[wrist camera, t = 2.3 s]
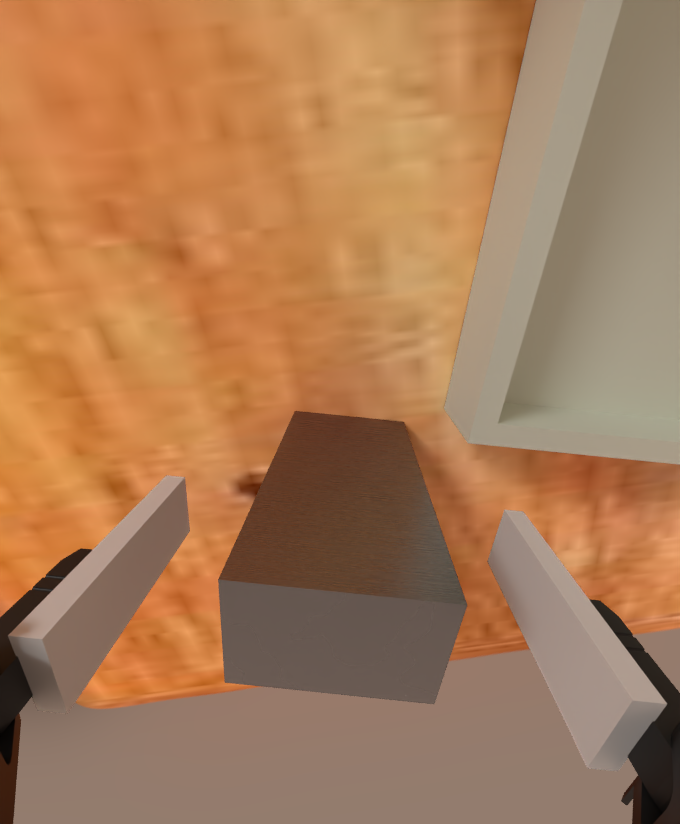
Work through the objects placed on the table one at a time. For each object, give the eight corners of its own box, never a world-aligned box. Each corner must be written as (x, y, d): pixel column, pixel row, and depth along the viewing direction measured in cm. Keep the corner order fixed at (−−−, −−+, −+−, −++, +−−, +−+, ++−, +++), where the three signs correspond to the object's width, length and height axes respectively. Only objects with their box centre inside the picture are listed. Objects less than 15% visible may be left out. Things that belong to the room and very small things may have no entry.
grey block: (295, 411, 18) (218, 579, 8) (403, 422, 18) (467, 605, 8) (288, 550, 22) (231, 787, 12) (379, 559, 22) (400, 805, 12)
